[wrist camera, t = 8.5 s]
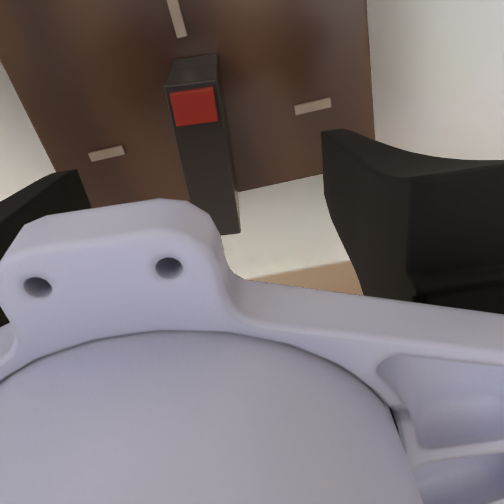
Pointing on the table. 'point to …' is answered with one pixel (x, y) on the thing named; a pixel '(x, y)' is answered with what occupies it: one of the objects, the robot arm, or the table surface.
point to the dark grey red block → (204, 138)
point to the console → (155, 75)
